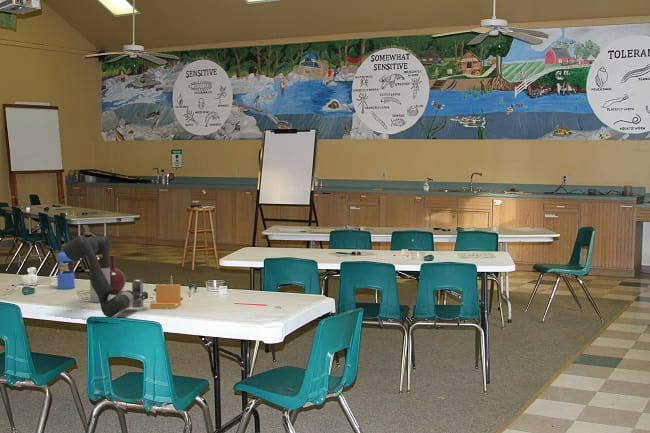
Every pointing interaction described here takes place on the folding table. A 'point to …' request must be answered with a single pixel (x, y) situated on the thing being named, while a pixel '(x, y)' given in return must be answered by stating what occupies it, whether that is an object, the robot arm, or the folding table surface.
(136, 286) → the link block
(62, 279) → the water bottle
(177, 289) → the keeper bracket
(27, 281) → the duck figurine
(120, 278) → the round-bottom flask
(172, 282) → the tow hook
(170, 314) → the folding table surface
